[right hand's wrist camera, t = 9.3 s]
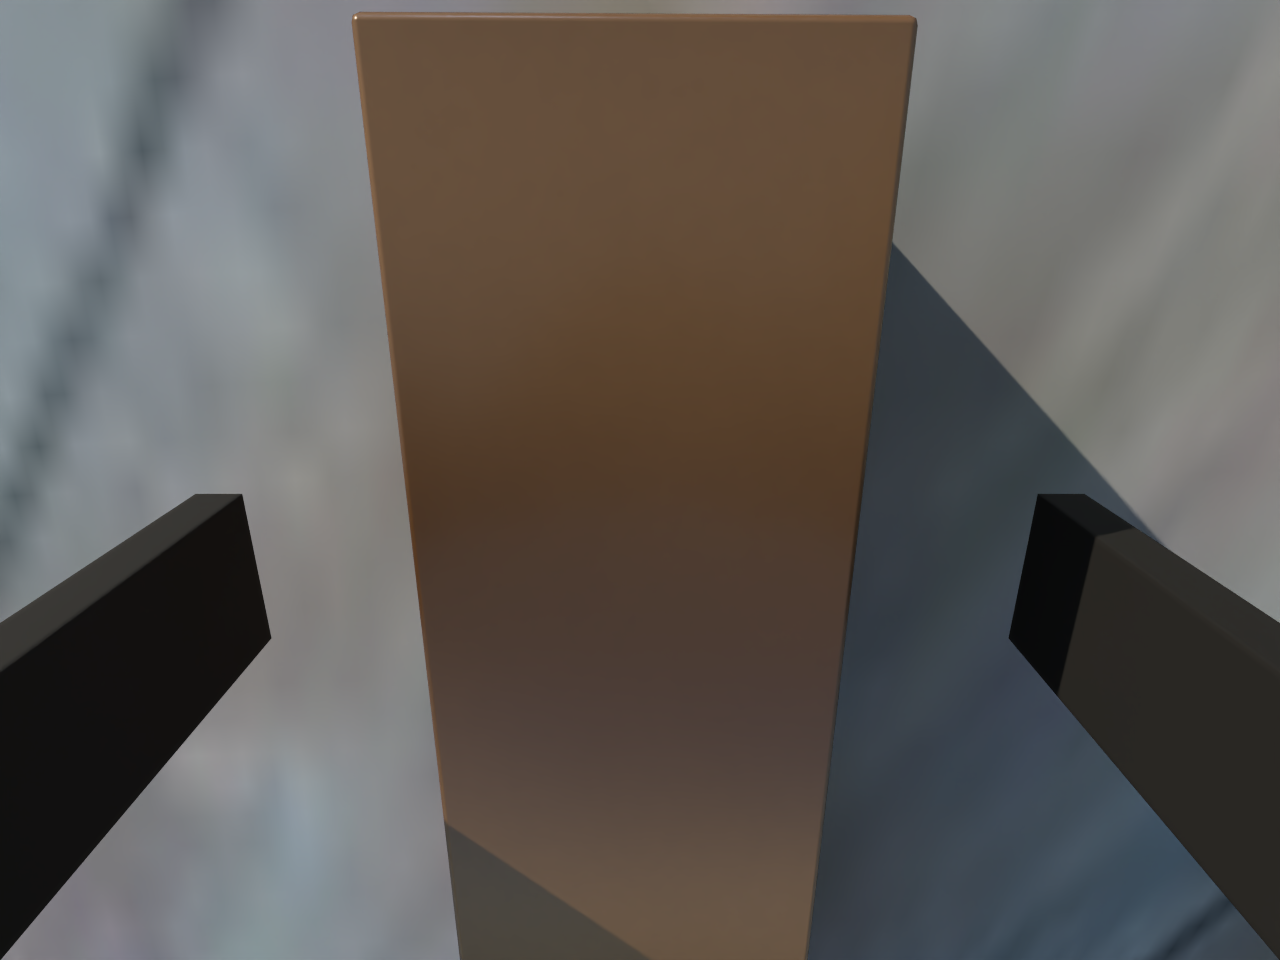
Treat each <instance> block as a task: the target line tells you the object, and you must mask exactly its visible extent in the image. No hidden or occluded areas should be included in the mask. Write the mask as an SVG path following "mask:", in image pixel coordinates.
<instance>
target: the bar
mask: <svg viewBox="0 0 1280 960" xmlns="http://www.w3.org/2000/svg"><path fill="white" fill-rule="evenodd" d="M917 27H918V25H917V20H916V18H914V17H912V16H910V15H801V14H634V13H466V12H358V13H356V14H354V15H353V18H352V29H353V38H354V47H355V55H356V64H357V73H358V81H359V90H360V99H361V107H362V116H363V125H364V133H365V142H366V150H367V159H368V168H369V176H370V185H371V194H372V202H373V211H374V220H375V228H376V237H377V246H378V254H379V263H380V272H381V280H382V289H383V297H384V306H385V315H386V323H387V332H388V341H389V349H390V358H391V367H392V375H393V384H394V393H395V401H396V410H397V418H398V427H399V436H400V444H401V453H402V462H403V470H404V479H405V488H406V496H407V505H408V514H409V522H410V531H411V539H412V548H413V557H414V565H415V574H416V583H417V591H418V600H419V609H420V617H421V626H422V635H423V643H424V652H425V661H426V669H427V678H428V686H429V695H430V704H431V712H432V721H433V730H434V738H435V747H436V756H437V764H438V773H439V782H440V790H441V799H442V807H443V816H444V825H445V833H446V842H447V851H448V859H449V868H450V877H451V885H452V894H453V903H454V911H455V920H456V929H457V937H458V946H459V954H460V960H807V959H808V951H809V942H810V934H811V926H812V917H813V909H814V900H815V892H816V883H817V875H818V866H819V858H820V849H821V841H822V832H823V824H824V815H825V807H826V798H827V790H828V781H829V773H830V764H831V756H832V747H833V739H834V730H835V722H836V714H837V705H838V697H839V688H840V680H841V671H842V663H843V654H844V646H845V637H846V629H847V620H848V612H849V603H850V595H851V586H852V578H853V569H854V561H855V552H856V544H857V535H858V527H859V518H860V510H861V502H862V493H863V485H864V476H865V468H866V459H867V451H868V442H869V434H870V425H871V417H872V408H873V400H874V391H875V383H876V374H877V366H878V357H879V349H880V340H881V332H882V323H883V315H884V306H885V298H886V290H887V281H888V273H889V264H890V256H891V247H892V239H893V230H894V222H895V213H896V205H897V196H898V188H899V179H900V171H901V162H902V154H903V145H904V137H905V128H906V120H907V111H908V103H909V94H910V86H911V77H912V69H913V61H914V52H915V44H916V35H917Z"/></svg>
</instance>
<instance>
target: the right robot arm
mask: <svg viewBox="0 0 1280 960" xmlns="http://www.w3.org/2000/svg"><path fill="white" fill-rule="evenodd" d="M270 639H271V634H270V629H269V624H268V619H267V614H266V609H265V604H264V600H263V595H262V590H261V585H260V580H259V575H258V570H257V565H256V560H255V555H254V550H253V545H252V540H251V535H250V530H249V526H248V521H247V516H246V511H245V506H244V501H243V496H242V494H195V495H193V496H192V497H190V498H189V499H187V500H186V501H184V502H183V503H181V504H180V505H178V506H177V507H175V508H174V509H172V510H171V511H169V512H168V513H166V514H165V515H163V516H162V517H160V518H159V519H157V520H156V521H154V522H153V523H151V524H150V525H148V526H146V527H145V528H143V529H142V530H140V531H139V532H137V533H136V534H134V535H133V536H131V537H130V538H128V539H127V540H125V541H124V542H122V543H121V544H119V545H118V546H116V547H115V548H113V549H112V550H110V551H109V552H107V553H106V554H104V555H103V556H101V557H100V558H98V559H97V560H95V561H93V562H92V563H90V564H89V565H87V566H86V567H84V568H83V569H81V570H80V571H78V572H77V573H75V574H74V575H72V576H71V577H69V578H68V579H66V580H65V581H63V582H62V583H60V584H59V585H57V586H56V587H54V588H53V589H51V590H50V591H48V592H47V593H45V594H44V595H42V596H41V597H39V598H37V599H36V600H34V601H33V602H31V603H30V604H28V605H27V606H25V607H24V608H22V609H21V610H19V611H18V612H16V613H15V614H13V615H12V616H10V617H9V618H7V619H6V620H4V621H3V622H1V623H0V960H1V959H2V958H3V956H4V955H5V954H6V953H7V952H8V950H9V949H10V948H11V947H12V946H13V944H14V943H15V942H16V941H17V940H18V939H19V937H20V936H21V935H22V934H23V933H24V931H25V930H26V929H27V928H28V927H29V925H30V924H31V923H32V922H33V921H34V920H35V918H36V917H37V916H38V915H39V914H40V912H41V911H42V910H43V909H44V908H45V906H46V905H47V904H48V903H49V902H50V901H51V899H52V898H53V897H54V896H55V895H56V893H57V892H58V891H59V890H60V889H61V887H62V886H63V885H64V884H65V883H66V882H67V880H68V879H69V878H70V877H71V876H72V874H73V873H74V872H75V871H76V870H77V868H78V867H79V866H80V865H81V864H82V863H83V861H84V860H85V859H86V858H87V857H88V855H89V854H90V853H91V852H92V851H93V849H94V848H95V847H96V846H97V845H98V844H99V842H100V841H101V840H102V839H103V838H104V836H105V835H106V834H107V833H108V832H109V830H110V829H111V828H112V827H113V826H114V825H115V823H116V822H117V821H118V820H119V819H120V817H121V816H122V815H123V814H124V813H125V811H126V810H127V809H128V808H129V807H130V806H131V804H132V803H133V802H134V801H135V800H136V798H137V797H138V796H139V795H140V794H141V792H142V791H143V790H144V789H145V788H146V787H147V785H148V784H149V783H150V782H151V781H152V779H153V778H154V777H155V776H156V775H157V773H158V772H159V771H160V770H161V769H162V768H163V766H164V765H165V764H166V763H167V762H168V760H169V759H170V758H171V757H172V756H173V754H174V753H175V752H176V751H177V750H178V749H179V747H180V746H181V745H182V744H183V743H184V741H185V740H186V739H187V738H188V737H189V735H190V734H191V733H192V732H193V731H194V730H195V728H196V727H197V726H198V725H199V724H200V722H201V721H202V720H203V719H204V718H205V716H206V715H207V714H208V713H209V712H210V711H211V709H212V708H213V707H214V706H215V705H216V703H217V702H218V701H219V700H220V699H221V697H222V696H223V695H224V694H225V693H226V692H227V690H228V689H229V688H230V687H231V686H232V684H233V683H234V682H235V681H236V680H237V678H238V677H239V676H240V675H241V674H242V673H243V671H244V670H245V669H246V668H247V667H248V665H249V664H250V663H251V662H252V661H253V659H254V658H255V657H256V656H257V655H258V654H259V652H260V651H261V650H262V649H263V648H264V646H265V645H266V644H267V643H268V642H269V640H270ZM1009 639H1010V640H1011V642H1012V643H1013V644H1014V645H1015V646H1016V648H1017V649H1018V650H1019V651H1020V652H1021V654H1022V655H1023V656H1024V657H1025V658H1026V659H1027V661H1028V662H1029V663H1030V664H1031V665H1032V667H1033V668H1034V669H1035V670H1036V671H1037V673H1038V674H1039V675H1040V676H1041V677H1042V678H1043V680H1044V681H1045V682H1046V683H1047V684H1048V686H1049V687H1050V688H1051V689H1052V690H1053V692H1054V693H1055V694H1056V695H1057V696H1058V697H1059V699H1060V700H1061V701H1062V702H1063V703H1064V705H1065V706H1066V707H1067V708H1068V709H1069V711H1070V712H1071V713H1072V714H1073V715H1074V716H1075V718H1076V719H1077V720H1078V721H1079V722H1080V724H1081V725H1082V726H1083V727H1084V728H1085V730H1086V731H1087V732H1088V733H1089V734H1090V735H1091V737H1092V738H1093V739H1094V740H1095V741H1096V743H1097V744H1098V745H1099V746H1100V747H1101V749H1102V750H1103V751H1104V752H1105V753H1106V754H1107V756H1108V757H1109V758H1110V759H1111V760H1112V762H1113V763H1114V764H1115V765H1116V766H1117V768H1118V769H1119V770H1120V771H1121V772H1122V773H1123V775H1124V776H1125V777H1126V778H1127V779H1128V781H1129V782H1130V783H1131V784H1132V785H1133V787H1134V788H1135V789H1136V790H1137V791H1138V792H1139V794H1140V795H1141V796H1142V797H1143V798H1144V800H1145V801H1146V802H1147V803H1148V804H1149V806H1150V807H1151V808H1152V809H1153V810H1154V811H1155V813H1156V814H1157V815H1158V816H1159V817H1160V819H1161V820H1162V821H1163V822H1164V823H1165V825H1166V826H1167V827H1168V828H1169V829H1170V830H1171V832H1172V833H1173V834H1174V835H1175V836H1176V838H1177V839H1178V840H1179V841H1180V842H1181V844H1182V845H1183V846H1184V847H1185V848H1186V849H1187V851H1188V852H1189V853H1190V854H1191V855H1192V857H1193V858H1194V859H1195V860H1196V861H1197V863H1198V864H1199V865H1200V866H1201V867H1202V868H1203V870H1204V871H1205V872H1206V873H1207V874H1208V876H1209V877H1210V878H1211V879H1212V880H1213V882H1214V883H1215V884H1216V885H1217V886H1218V887H1219V889H1220V890H1221V891H1222V892H1223V893H1224V895H1225V896H1226V897H1227V898H1228V899H1229V901H1230V902H1231V903H1232V904H1233V905H1234V906H1235V908H1236V909H1237V910H1238V911H1239V912H1240V914H1241V915H1242V916H1243V917H1244V918H1245V920H1246V921H1247V922H1248V923H1249V924H1250V925H1251V927H1252V928H1253V929H1254V930H1255V931H1256V933H1257V934H1258V935H1259V936H1260V937H1261V939H1262V940H1263V941H1264V942H1265V943H1266V944H1267V946H1268V947H1269V948H1270V949H1271V950H1272V952H1273V953H1274V954H1275V955H1276V956H1277V958H1278V959H1279V960H1280V623H1279V622H1277V621H1276V620H1274V619H1273V618H1271V617H1270V616H1268V615H1267V614H1265V613H1264V612H1262V611H1261V610H1259V609H1258V608H1256V607H1255V606H1253V605H1252V604H1250V603H1249V602H1247V601H1246V600H1244V599H1243V598H1241V597H1239V596H1238V595H1236V594H1235V593H1233V592H1232V591H1230V590H1229V589H1227V588H1226V587H1224V586H1223V585H1221V584H1220V583H1218V582H1217V581H1215V580H1214V579H1212V578H1211V577H1209V576H1208V575H1206V574H1205V573H1203V572H1202V571H1200V570H1199V569H1197V568H1196V567H1194V566H1193V565H1191V564H1190V563H1188V562H1187V561H1185V560H1183V559H1182V558H1180V557H1179V556H1177V555H1176V554H1174V553H1173V552H1171V551H1170V550H1168V549H1167V548H1165V547H1164V546H1162V545H1161V544H1159V543H1158V542H1156V541H1155V540H1153V539H1152V538H1150V537H1149V536H1147V535H1146V534H1144V533H1143V532H1141V531H1140V530H1138V529H1137V528H1135V527H1134V526H1132V525H1130V524H1129V523H1127V522H1126V521H1124V520H1123V519H1121V518H1120V517H1118V516H1117V515H1115V514H1114V513H1112V512H1111V511H1109V510H1108V509H1106V508H1105V507H1103V506H1102V505H1100V504H1099V503H1097V502H1096V501H1094V500H1093V499H1091V498H1090V497H1088V496H1087V495H1085V494H1038V496H1037V501H1036V506H1035V511H1034V516H1033V521H1032V526H1031V530H1030V535H1029V540H1028V545H1027V550H1026V555H1025V560H1024V565H1023V570H1022V575H1021V580H1020V585H1019V590H1018V595H1017V600H1016V604H1015V609H1014V614H1013V619H1012V624H1011V629H1010V634H1009Z"/></svg>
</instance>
